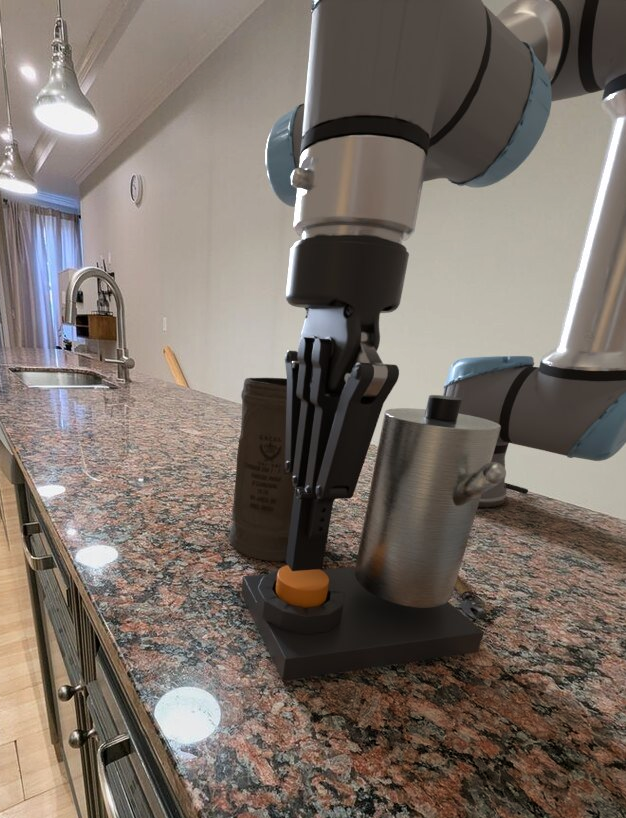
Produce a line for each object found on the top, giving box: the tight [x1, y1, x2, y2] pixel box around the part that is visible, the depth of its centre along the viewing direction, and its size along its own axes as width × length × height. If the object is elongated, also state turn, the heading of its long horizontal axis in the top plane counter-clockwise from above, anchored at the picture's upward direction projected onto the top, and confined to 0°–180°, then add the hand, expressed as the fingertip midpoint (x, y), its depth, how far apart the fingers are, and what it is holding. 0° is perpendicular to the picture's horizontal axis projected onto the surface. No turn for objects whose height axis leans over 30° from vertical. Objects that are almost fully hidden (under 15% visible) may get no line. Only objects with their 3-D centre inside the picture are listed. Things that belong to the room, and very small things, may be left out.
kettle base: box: [240, 566, 485, 682], centre depth 41 cm, size 18×12×4 cm, turn 105°
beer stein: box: [228, 377, 296, 563], centre depth 54 cm, size 15×11×20 cm
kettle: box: [354, 394, 507, 608], centre depth 38 cm, size 9×14×17 cm, turn 15°
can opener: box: [454, 574, 486, 621], centre depth 47 cm, size 9×2×1 cm, turn 171°
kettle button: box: [276, 564, 329, 608], centre depth 38 cm, size 4×4×2 cm
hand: (303, 565), depth 37 cm, fingers closed
